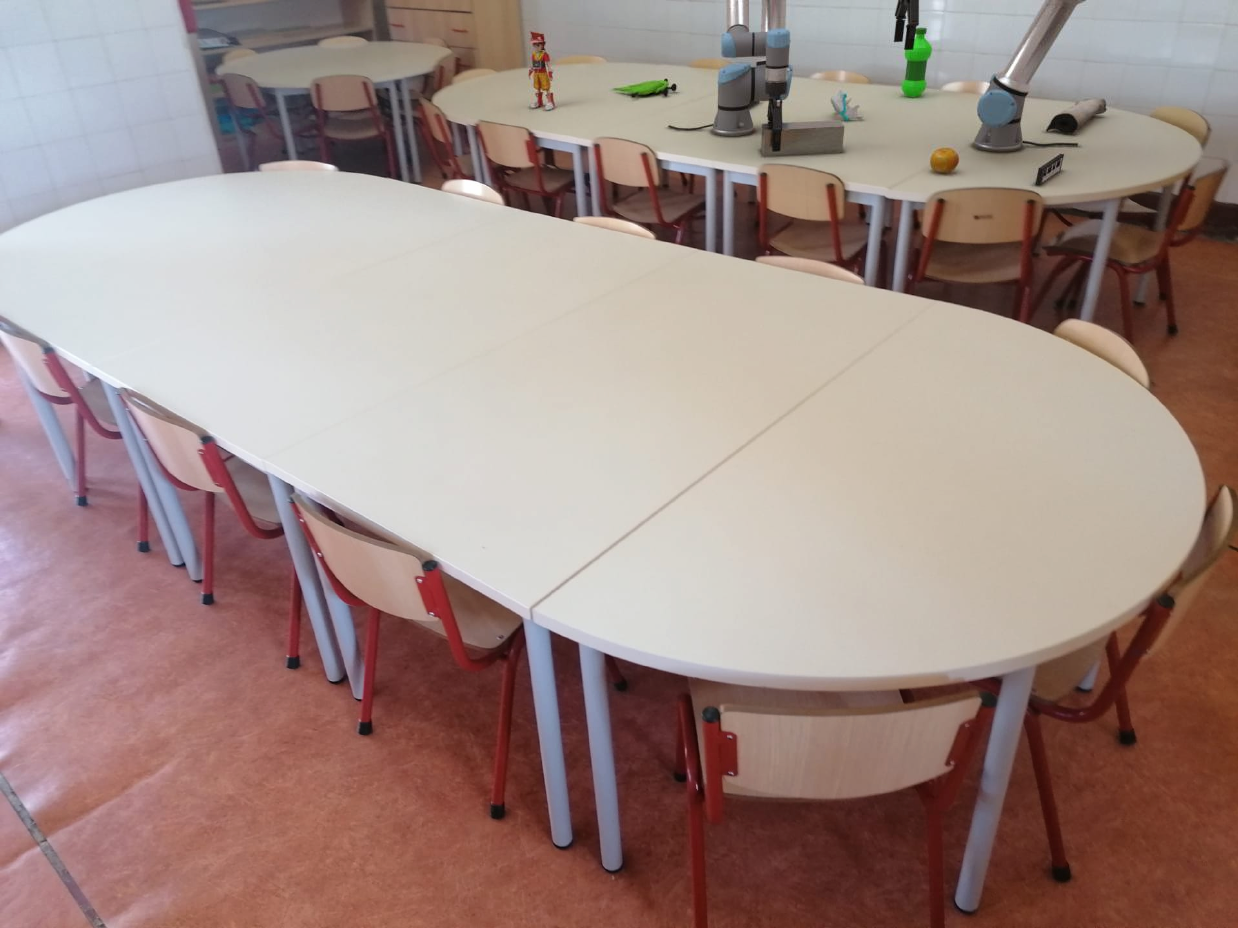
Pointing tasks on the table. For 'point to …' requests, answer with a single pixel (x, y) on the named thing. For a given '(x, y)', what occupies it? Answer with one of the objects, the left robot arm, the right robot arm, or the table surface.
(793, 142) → the box
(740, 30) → the left robot arm
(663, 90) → the toy
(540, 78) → the toy
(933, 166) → the fruit
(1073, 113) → the rolled mat
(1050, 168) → the midi keyboard
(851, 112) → the anatomical model
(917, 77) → the plastic bottle
